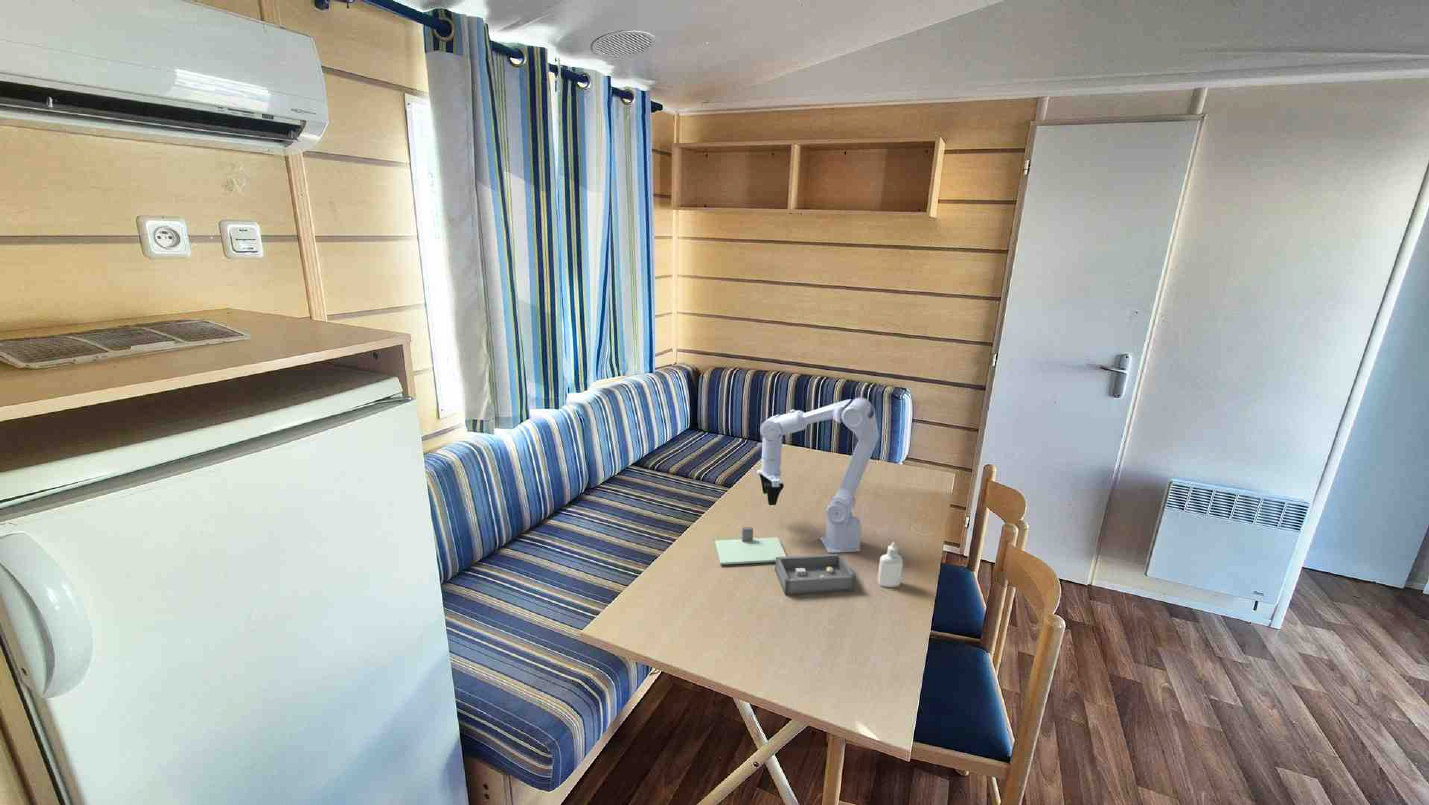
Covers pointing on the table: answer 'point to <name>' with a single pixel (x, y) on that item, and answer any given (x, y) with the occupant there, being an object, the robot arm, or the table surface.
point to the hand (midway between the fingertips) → (769, 498)
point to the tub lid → (749, 549)
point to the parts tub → (814, 574)
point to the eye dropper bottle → (890, 568)
